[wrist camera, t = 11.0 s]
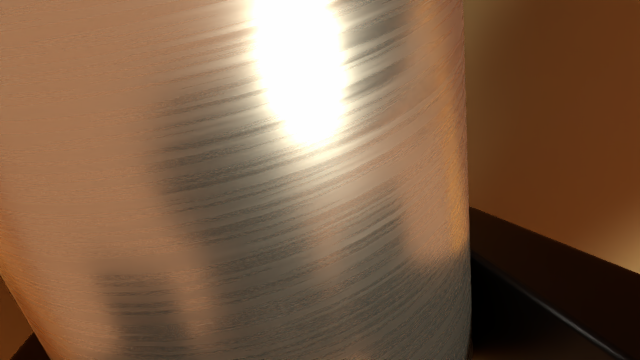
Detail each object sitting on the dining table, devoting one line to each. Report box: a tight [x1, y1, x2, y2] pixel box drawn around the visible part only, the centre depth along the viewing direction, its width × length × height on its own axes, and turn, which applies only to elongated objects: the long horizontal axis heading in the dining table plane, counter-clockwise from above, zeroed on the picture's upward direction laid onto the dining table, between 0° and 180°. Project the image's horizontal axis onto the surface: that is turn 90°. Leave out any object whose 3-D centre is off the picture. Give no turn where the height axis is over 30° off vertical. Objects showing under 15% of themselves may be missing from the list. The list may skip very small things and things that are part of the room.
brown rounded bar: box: [0, 0, 473, 360], centre depth 7 cm, size 15×4×4 cm, turn 10°
